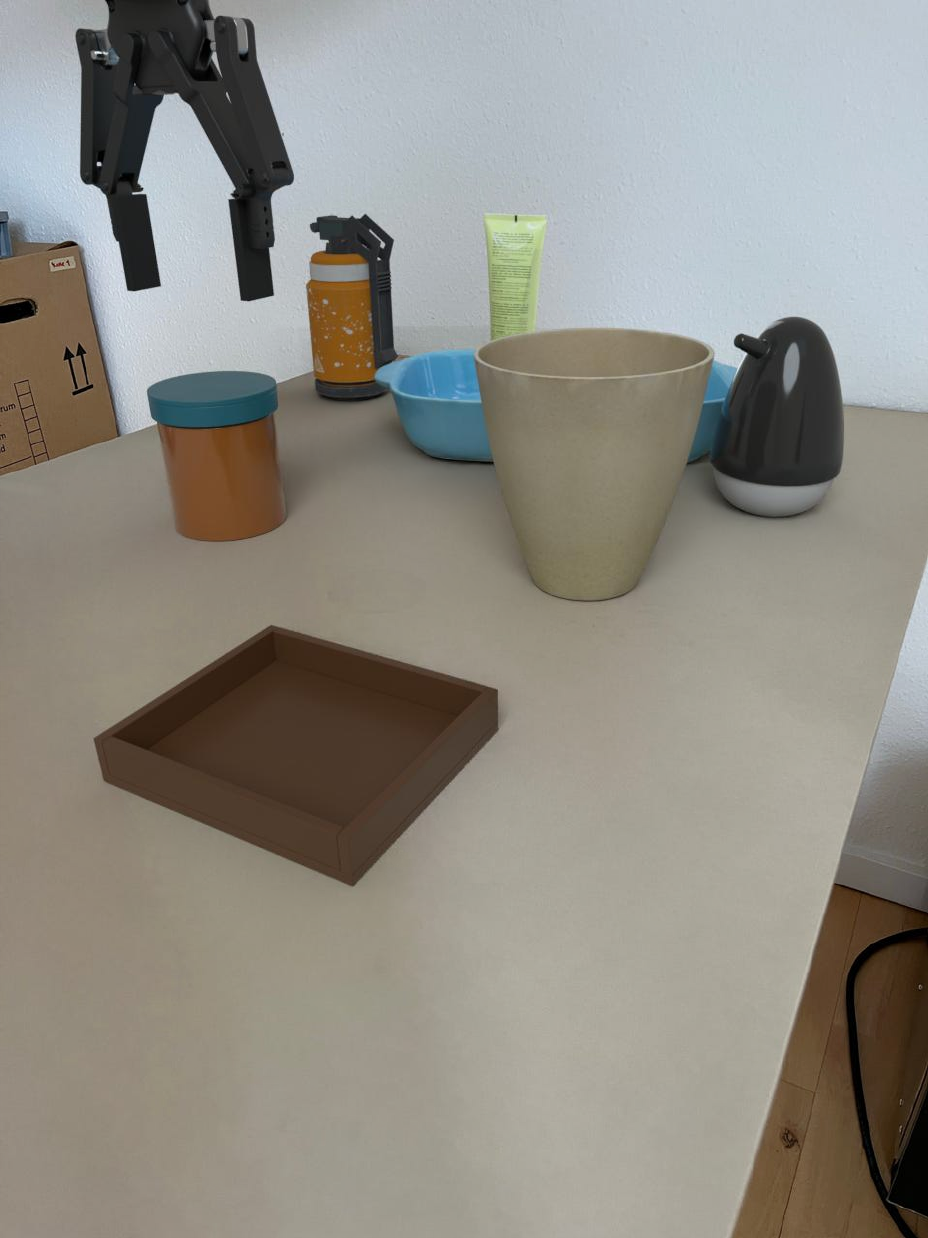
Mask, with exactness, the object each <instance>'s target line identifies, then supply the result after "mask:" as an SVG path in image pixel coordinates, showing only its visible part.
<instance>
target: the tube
mask: <svg viewBox="0 0 928 1238" xmlns="http://www.w3.org/2000/svg"><path fill="white" fill-rule="evenodd" d="M483 224H484V225H483V226H484V232H485V242H486V243H485V244H486V254H487V255H486V256H487V271H488V273H487V274H488V291H489V292H488V293H489V294H488V295H489V317H490V319H489V322H490V341H491V340H495V339H498V338H501V337H506V336H510V335H515V334H522V333H527V332H534V331H536V326H537V325H536V324H537V310H538V300H539V298H538V297H539V285H540V277H541V267H542V259H543V250H544V244H545V243H544V242H545V236H546V230H547V226H548V225H547V224H548V215H546V214H512V213H511V214H510V213H509V214H508V213H491V212H490V213H488V212H484V213H483Z"/></svg>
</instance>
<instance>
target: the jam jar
mask: <svg viewBox="0 0 928 1238" xmlns="http://www.w3.org/2000/svg"><path fill="white" fill-rule="evenodd" d="M156 425H157V430H158V436H159V442H160V448H161V454H162V460H163V465H164V472H165V478H166V483H167V488H168V495H169V500H170V506H171V512H172V517H173V524H174V528H175V530H176V532H178V533H179V535H182V536H184V537H186V538H189V539H192V540H197V541H207V542H226V541H229V542H230V541H237V540H243V539H249V538H253V537H257V536H261V535H264V534H266V533H269V532H270V531H273V530H275V529H277V528H278V527H280V526H281V525H283V523H284V522H285V520H286V519H287V508H286V498H285V491H284V490H285V489H284V483H283V472H282V471H283V470H282V465H281V454H280V447H279V438H278V428H277V418H276V411H274V412H273V413H271V414H270V415H268V416H265V417H263V418H260V419H257V420H253V421H249V422H245V423H240V424H234V425H227V426H218V427H177V426H170V425H165V424H162V423H159V422H157V421H156Z"/></svg>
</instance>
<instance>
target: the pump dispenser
mask: <svg viewBox="0 0 928 1238" xmlns="http://www.w3.org/2000/svg"><path fill="white" fill-rule="evenodd" d="M733 346H734V347H735V348H736V349H739V350H740V351H742V352H744V353H745V354H744V356H743V358H742V360H741V361H740V363H739V365H738V367H737V368H738V369H737V371H736V374H735V376H734V378H733V380H732V383H731V385H730V387H729V390H728V392H727V395H726V397H725V400H724V403H723V406H722V409H721V412H720V415H719V419H718V422H717V426H716V430H715V434H714V438H713V442H712V447H711V450H710V454H709V460H710V461H709V462H710V464H711V466H712V467H713V473H714V478H715V482H716V484H717V487H718V490H719V491H720V493H721V494H722V496H723V497H724V498H725V499H726V500H727V501H728V502H729V503H730V504H732V505H733V506H734V507H735V508H737V509H740V510H742V511H743V512H746V513H749V514H752V515H756V516H762V517H769V518H770V517H771V518H782V517H790V516H795V515H798V514H801V513H804V512H806V511H808V510H810V509H813V508H814V507H815V506H817V504H818V503H819V502H821V501H822V499H824V497H825V496H826V495H827V494H828V492H829V490H830V489H831V487H832V485H833V483H834V480H835V478H837V477H838V476H839V475H840V473H841V471H842V466H843V460H844V445H845V411H844V402H843V401H844V400H843V393H842V386H841V378H840V375H839V369H838V365H837V360H836V357H835V353H834V351H833V348H832V345H831V343H830V340H829V338H828V336H827V334H826V333H825V331H824V330H823V329H822V328H821V326H820V325H818V323H816V322H815V321H813V320H811V319H808V318H806V317H803V316H785V317H782V318H779V319H776V320H774V321H772V322H770V323H769V324H767V325H766V326H765V327H764V328H763V329H762V330H761V331H760V332H759V333H758V335H757V336H755V337H754V336H752V335H749V334H745V333H738V334H736V335H735V337H734V338H733Z"/></svg>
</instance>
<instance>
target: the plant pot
mask: <svg viewBox="0 0 928 1238" xmlns="http://www.w3.org/2000/svg"><path fill="white" fill-rule="evenodd" d="M715 354H716V351H715V350H714V348H713V347H712V346H711V345H709V344H708V343H706V342H704V341H702V340H699V339H697V338H693V337H690V336H685V335H682V334H676V333H671V332H666V331H656V330H647V329H638V328H623V327H622V328H621V327H567V328H554V329H545V330H543V329H542V330H535V331H534V332H527V333H522V334H515V335H510V336H506V337H501V338H498V339H495V340H491V339H490V340H489V341H486V342H484V343H482V344H481V345H478V346H477V348H476V350H475V351H474V361H475V367H476V374H477V379H478V385H479V391H480V397H481V403H482V409H483V415H484V420H485V425H486V430H487V435H488V439H489V444H490V448H491V453H492V457H493V461H494V462H493V461H492V462H493V464H494V469H495V473H496V477H497V480H498V485H499V487H500V490H501V491H500V492H501V494H502V497H503V501H504V505H505V508H506V511H507V514H508V517H509V521H510V523H511V526H512V530H513V532H514V535H515V538H516V540H517V543H518V546H519V549H520V552H521V554H522V556H523V557H522V558H523V559H524V561H525V564H526V566H527V569H528V571H529V574H530V576H531V579H532V581H533V583H534V585H536V586H537V588H539V589H540V590H541V591H543V592H545V593H547V594H549V595H551V596H554V597H558V598H561V599H566V600H572V601H585V602H586V601H587V602H588V601H603V600H609V599H613V598H616V597H620V596H623V595H625V594H627V593H629V592H630V591H632V590H633V589H635V587H636V585H637V584H638V582H639V580H640V578H641V576H642V574H643V572H644V570H645V568H646V566H647V564H648V562H649V560H650V557H651V556H652V554H653V551H654V549H655V546H656V544H657V542H658V540H659V537H660V535H661V533H662V531H663V528H664V526H665V524H666V521H667V519H668V516H669V514H670V512H671V509H672V505H673V503H674V500H675V498H676V495H677V492H678V490H679V487H680V484H681V481H682V478H683V476H684V472H685V470H686V466H687V464H688V463H687V460H688V457H689V454H690V451H691V447H692V444H693V441H694V437H695V433H696V430H697V426H698V422H699V419H700V415H701V411H702V406H703V402H704V398H705V394H706V390H707V385H708V381H709V377H710V373H711V368H712V364H713V360H715Z"/></svg>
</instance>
